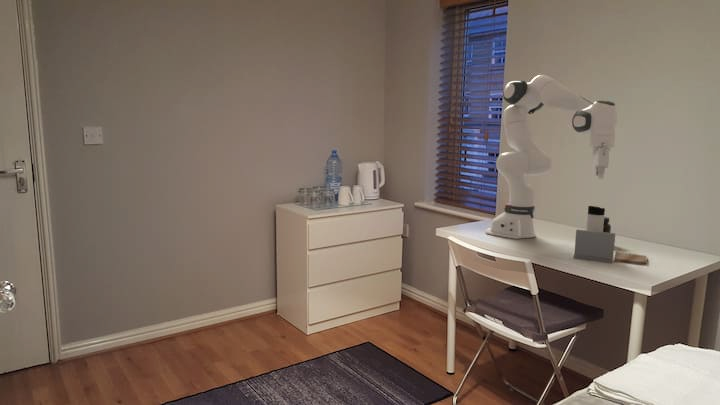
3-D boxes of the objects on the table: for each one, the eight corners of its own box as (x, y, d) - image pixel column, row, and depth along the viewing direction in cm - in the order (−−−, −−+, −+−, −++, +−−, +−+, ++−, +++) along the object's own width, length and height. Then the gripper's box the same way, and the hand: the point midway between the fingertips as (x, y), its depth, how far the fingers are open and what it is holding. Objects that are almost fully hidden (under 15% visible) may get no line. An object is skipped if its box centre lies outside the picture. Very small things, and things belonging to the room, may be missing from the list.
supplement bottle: (611, 246, 228) (613, 219, 225) (594, 245, 229) (596, 218, 227) (607, 242, 234) (609, 216, 232) (590, 241, 236) (593, 215, 233)
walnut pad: (614, 261, 205) (614, 258, 205) (615, 254, 215) (615, 252, 215) (646, 265, 200) (646, 262, 200) (646, 258, 210) (646, 255, 210)
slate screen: (573, 258, 209) (575, 231, 207) (574, 255, 212) (576, 229, 210) (612, 263, 202) (614, 235, 201) (612, 260, 206) (615, 233, 204)
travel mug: (580, 252, 217) (584, 204, 214) (592, 251, 220) (596, 203, 217) (592, 256, 212) (596, 207, 208) (604, 254, 214) (608, 206, 211)
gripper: (614, 143, 198) (611, 180, 200) (607, 141, 217) (604, 174, 219) (596, 143, 200) (593, 179, 202) (591, 141, 219) (588, 174, 221)
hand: (599, 177), depth 211 cm, fingers open, 8 cm apart
